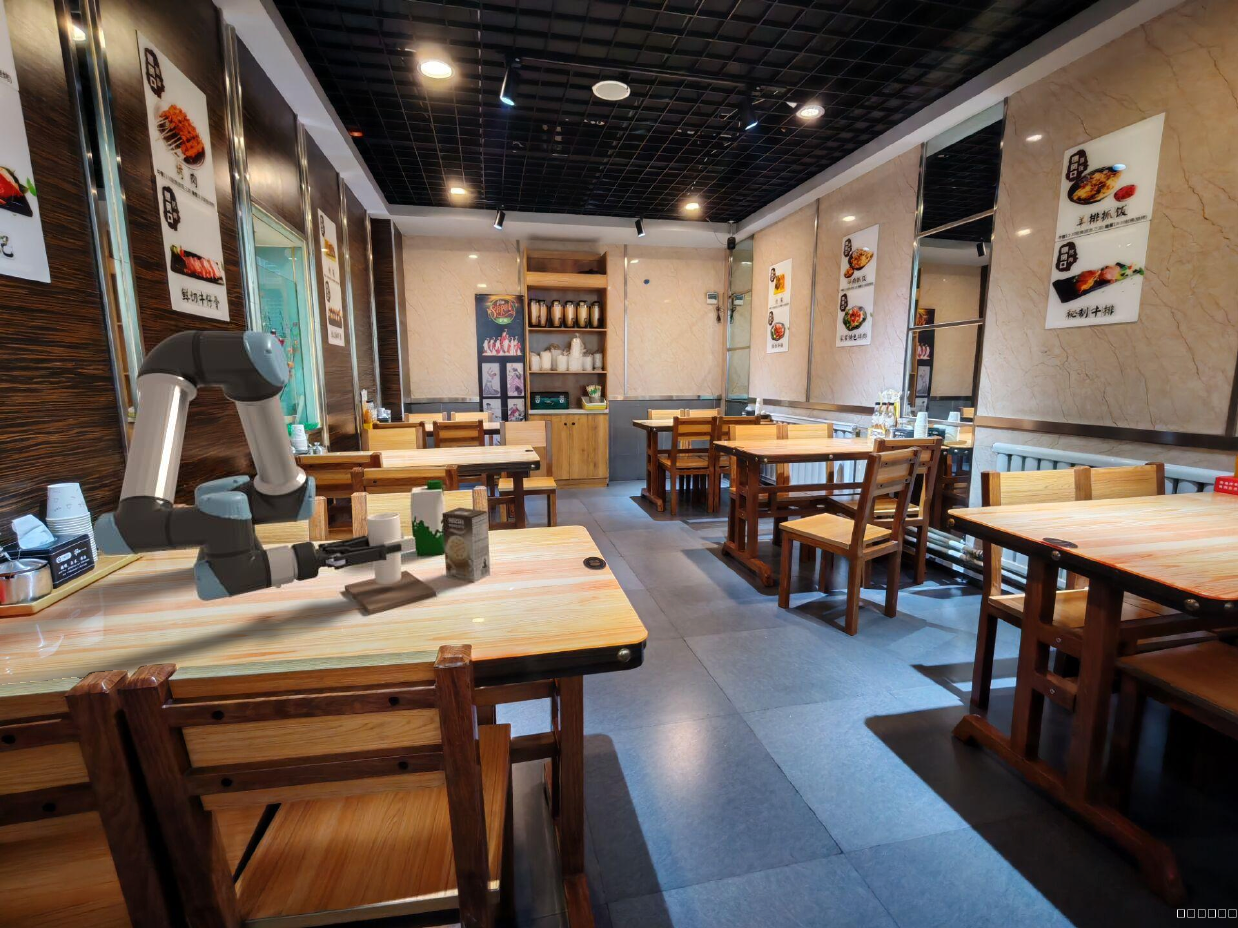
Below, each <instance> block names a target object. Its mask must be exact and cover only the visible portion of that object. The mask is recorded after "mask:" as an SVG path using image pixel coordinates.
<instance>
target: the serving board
mask: <svg viewBox="0 0 1238 928" xmlns="http://www.w3.org/2000/svg"><path fill="white" fill-rule="evenodd" d="M344 591H345V593H347V594H348V595H349V596H350V597H351V598H352V599H353V600H355V602H356V603H357V604H358V605H359V606H361V607H362V609H363V610H365V612H367V614H369V615H373V614H374V615H375V614H378V613H381V612H382V613H383V612H385V611H388V610H392V609H395V608H399V607H403V606H406V605H409V604H413V603H416V602H420V601H424V600H427V599H431V598H435V597H437V590H436V589H434V588H433V587H432V586H430V585H428V584H427V583H425V582H424V581H422V580H421V579H419V578H418V577H417V576H415V575H413V574H412V573H411V572H409V571H408V570H403V571H402V570H401V579H400V581H398V582H396V583H393V584H389V585H380V584H377V583H376V580H375V577H374V578H371V579H370V578H369V579H366V580H361V581H357V582H354V583H349V584H348V583H347V584H345V585H344Z"/></svg>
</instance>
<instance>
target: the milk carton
mask: <svg viewBox="0 0 1238 928" xmlns="http://www.w3.org/2000/svg"><path fill="white" fill-rule="evenodd" d="M444 493H445V492H444V487H443V480H442V479H429V480H426V486H425V485H424V486H420V487H412V489H411V493H410V518H411V520H410V521H411V531H412V532H411V534H412V537H415V546H416V549H415V552H416V556H417V558H419V556H421V557H429V556H438V555H445V548H444V531H443V515H442V513H445V512H447V511H446V503H445V496H444Z"/></svg>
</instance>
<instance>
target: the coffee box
mask: <svg viewBox="0 0 1238 928" xmlns="http://www.w3.org/2000/svg"><path fill="white" fill-rule="evenodd" d="M442 515H443V531H444V548H445V554H444V559H445V560H444V561H445V563H444V564H445V577H447V578H451V579H456V580H461V581H467V582H473V583H475V582H478V581H480V580H481V579H483V578H485V577H487V576H489V575H491V560H490V559H491V558H490V541H489V540H490V539H489V521H488V520H489V519H488V518H489V517H488V510H480V509H473V508H468V507H467V508H464V507H457V508H454V509H452V510H448V511H446V512H445V513H442Z"/></svg>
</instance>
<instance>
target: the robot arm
mask: <svg viewBox="0 0 1238 928" xmlns="http://www.w3.org/2000/svg"><path fill="white" fill-rule="evenodd" d="M289 380H290V370H289V366H288V359H287V355H286V353H285V350H284V348H283V345H282V344H281V342H280V341H279V339H278V338H277V337H276V336H275V335H273V334H272V333H269V332H265V331H255V330H254V331H253V330H246V331H232V330H227V331H226V330H225V331H223V330H210V331H209V330H187V331H181V332H178V333H175V334H173V335H171V336H169V337H167V338H166V339H164V340H162V341H161V342H160V343H158V344H157V345H155V347H154V348H153V349H151V350H150V352H149V353H148V354H147V355H146V357H145V358H144V360H143V361H142V363H141V364H140V367H139V369H138V371H137V376H136V379H135V388H136V390H137V391H138V392H139V394H140V395H139V399H138V405H137V411H136V416H135V420H134V424H133V425H134V426H133V431H132V436H131V441H130V446H129V451H128V455H127V461H126V462H127V463H126V465H125V466H126V467H125V473H124V478H123V483H122V488H121V492H120V496H119V497H120V499H119V503H118V507H117V511H111V512H106V513H103V514H100V516H98V519H97V520H96V521H95V523H94V524H93V525H94V526H93V532H92V535H93V539H94V540H93V541H94V544H95V546H96V548H97V549H98V550H99V551H100V552H101V553H103V554H104V555H108V556H121V555H123V556H124V555H138V554H143V553H152V552H160V551H170V550H181V549H192V548H193V549H194V548H199V549H198V553H197V557H196V560H195V563H194V564H193V566H192V567H193V577H194V583H195V588H196V589H195V590H196V594H197V597H198V599H200V600H201V601H203V602H209V601H215V600H219V599H226V598H228V599H229V598H232V597H236V596H239V595H244V594H248V593H252V592H257V591H260V590H261V591H262V590H265V589H270V588H274V587H275V588H276V589H280V588H281V587H282V585H288V584H291V583H294V581H295V580H296V581H297V582H302V581H306V580H311V579H312V580H313V579H316V578H317V577H318V576H319V572H320V571H319V570H320V568H328V569H329V568H333V569H334V570H335V571H338V570H341V569H344V568H348V567H353V566H358V565H363V564H369V563H373V562H374V561H379V560H383V561H384V560H386V556H387V555H392V554H397V553H401V554H402V553H405V552H409V551H410V552H411V551H414V550H415V551H416V546H415V537H413V536H412V537H406V538H405V534H404V531H403V530H401V540H396V541H392V542H386V543H383V544H384V545H377V546H370V545H369V539H368V533H366V535H361V536H356V537H351V538H346V539H341V540H335V541H332V542H325V543H318V544H317V547H318V548H316V546H315V544H314V543H313V542H312V541H303V542H297V543H295V544H294V543H293V544H292V545H290V547H289V545H282V546H281V545H280V546H275V547H271V548H270V547H269V548H264V546H263V545H262V543H261V541H260V539H259V537H258V534H257V533H256V532H257V531H256V526H261V525H262V526H263V525H271V524H274V525H275V524H285V523H298V522H301V521H307V520H309V519H312V518H313V516H314V513H315V508H316V507H315V504H316V480H315V479H316V478H315V477H314V476H307V474H306V472H305V471H304V469H303V468H301V467H300V466H298V465H297V463H296V458H295V455H294V450H293V447H292V442H291V438H290V436H289V432H288V426H287V423H286V419H285V416H284V412H283V408H282V407H283V406H282V403H281V400H280V396H279V395H280V394H282V392H283V391H284V389H285V385H287V384H288V383H289ZM201 387H221V389H222V393H223V395H224V396H225V398H227V399H228V400H230V401H233V402H234V403H235V406H236V409H237V412H238V415H239V416H238V417H239V418H240V422H241V426H242V428H243V431H244V434H245V437H246V441H247V444H248V447H249V451H250V453H251V456H252V460H253V462H254V466H255V469H256V473H257V475H256V476H255V477H254V479H253V480H250V479H251V478H250V477H249V475H245V474H244V475H235V476H229V477H224V478H219V479H215V480H211V481H207V482H205V483H201V484H199V485H198V486H196V488H195V489H194V500H195V501H194V505H189V506H181V507H180V506H179V507H178V506H176V507H174V504H175V503H174V502H175V495H176V489H177V482H178V475H179V471H180V462H181V457H182V450H183V449H182V448H183V445H184V436H185V430H186V423H187V417H188V411H189V404H190V402H191V401H192V400H194V399H195V398H196V397H197V392H198V388H201Z"/></svg>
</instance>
